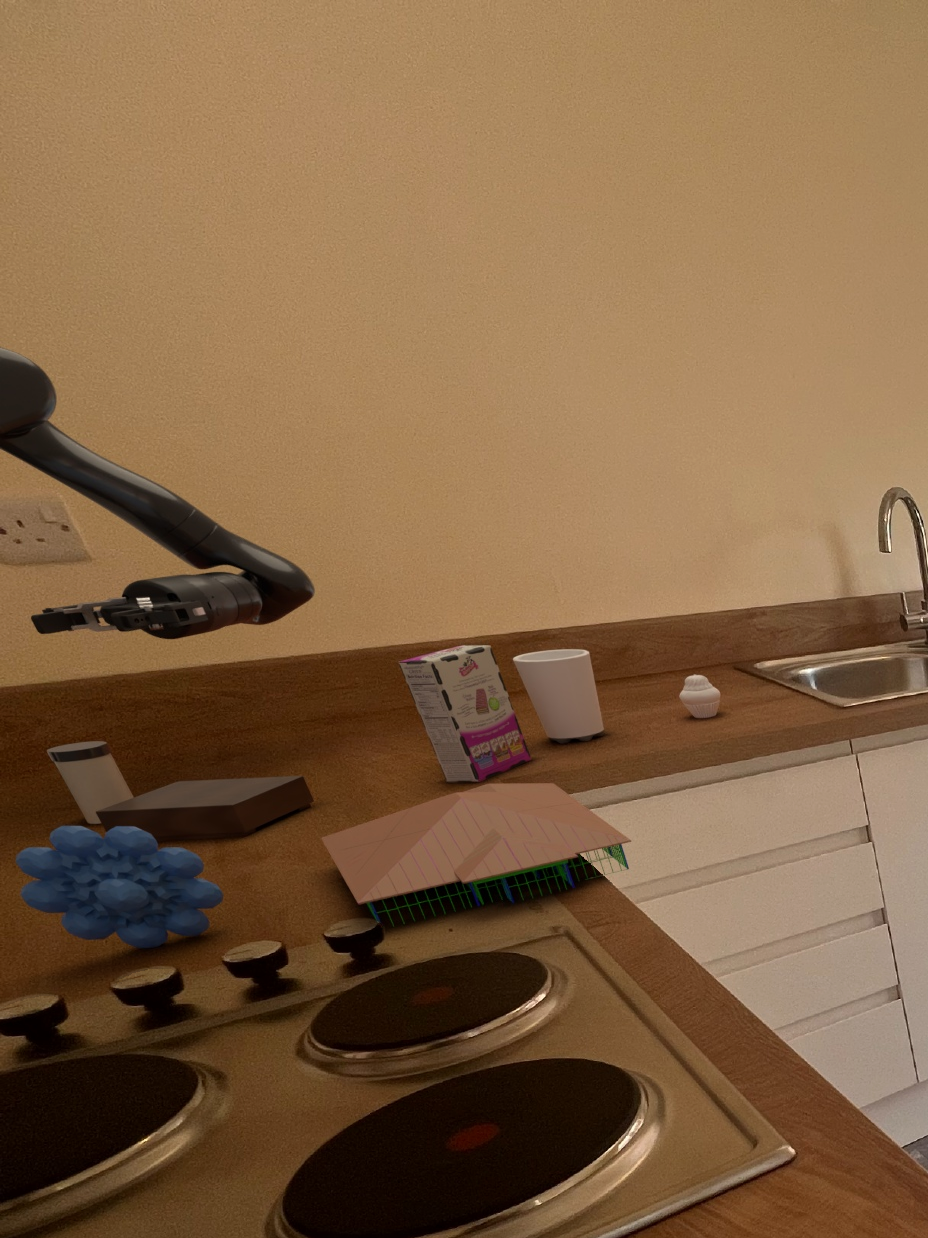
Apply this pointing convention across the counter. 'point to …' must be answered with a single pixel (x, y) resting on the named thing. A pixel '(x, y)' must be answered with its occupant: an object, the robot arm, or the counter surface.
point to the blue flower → (118, 885)
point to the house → (471, 842)
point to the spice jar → (91, 776)
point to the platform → (209, 807)
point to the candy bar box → (466, 712)
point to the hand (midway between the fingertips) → (77, 623)
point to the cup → (562, 693)
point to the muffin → (700, 696)
